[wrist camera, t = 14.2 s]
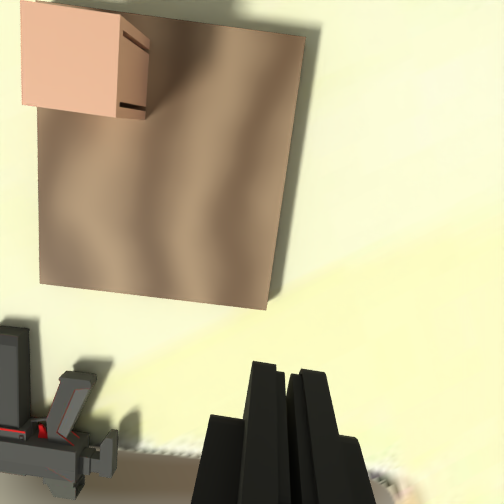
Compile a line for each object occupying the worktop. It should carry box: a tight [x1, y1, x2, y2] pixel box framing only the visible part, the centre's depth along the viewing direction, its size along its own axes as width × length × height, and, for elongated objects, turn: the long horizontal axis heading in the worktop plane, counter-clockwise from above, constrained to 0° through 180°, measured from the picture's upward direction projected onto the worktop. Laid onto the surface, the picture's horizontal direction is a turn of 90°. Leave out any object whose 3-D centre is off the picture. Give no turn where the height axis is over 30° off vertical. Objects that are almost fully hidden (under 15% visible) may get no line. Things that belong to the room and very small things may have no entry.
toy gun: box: [0, 326, 118, 500], centre depth 38 cm, size 3×19×15 cm
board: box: [36, 0, 306, 310], centre depth 32 cm, size 18×20×2 cm
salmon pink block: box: [20, 0, 150, 120], centre depth 26 cm, size 5×5×7 cm
